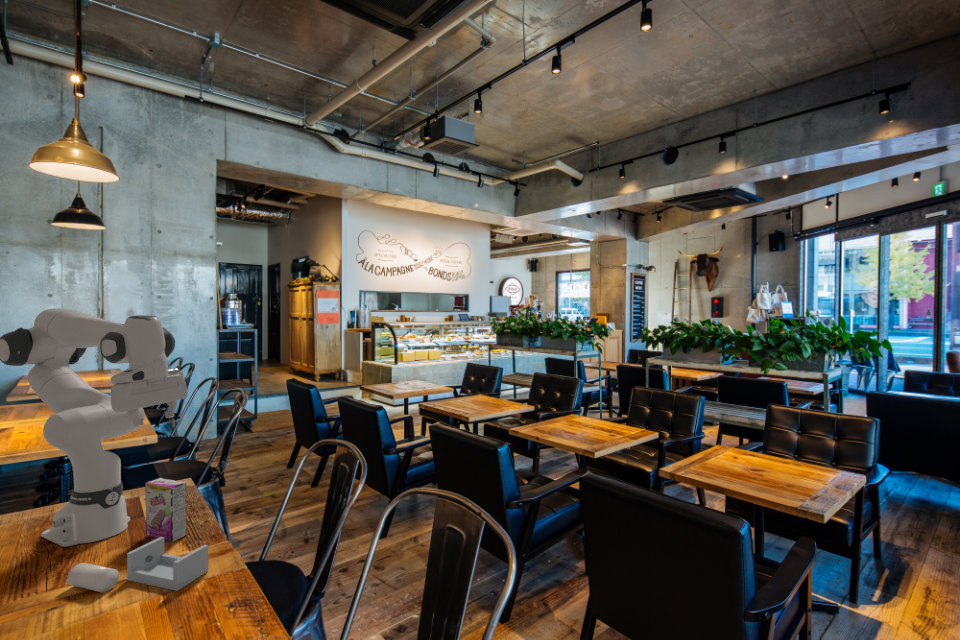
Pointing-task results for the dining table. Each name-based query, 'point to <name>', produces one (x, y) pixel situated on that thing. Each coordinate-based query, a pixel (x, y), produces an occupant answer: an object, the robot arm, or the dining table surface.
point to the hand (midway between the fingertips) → (154, 421)
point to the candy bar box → (166, 509)
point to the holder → (165, 566)
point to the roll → (93, 577)
